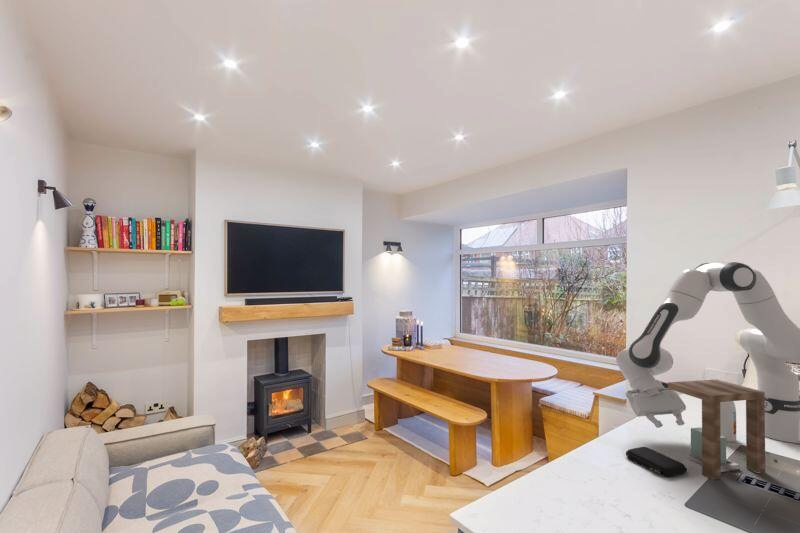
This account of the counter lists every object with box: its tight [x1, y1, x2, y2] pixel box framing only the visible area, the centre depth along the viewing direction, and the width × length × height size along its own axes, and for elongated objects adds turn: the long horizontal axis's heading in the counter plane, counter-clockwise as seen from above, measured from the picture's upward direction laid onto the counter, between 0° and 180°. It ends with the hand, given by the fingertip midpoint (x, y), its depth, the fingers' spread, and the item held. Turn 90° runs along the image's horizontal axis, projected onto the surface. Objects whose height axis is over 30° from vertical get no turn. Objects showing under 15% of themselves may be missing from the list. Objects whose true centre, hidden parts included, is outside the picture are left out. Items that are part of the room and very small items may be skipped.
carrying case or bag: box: [625, 446, 688, 478], centre depth 118 cm, size 11×3×15 cm
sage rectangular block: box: [690, 426, 727, 465], centre depth 121 cm, size 4×8×9 cm, turn 13°
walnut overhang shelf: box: [667, 379, 766, 481], centre depth 119 cm, size 20×14×24 cm
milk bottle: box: [720, 401, 737, 443], centre depth 139 cm, size 8×8×20 cm
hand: (670, 425), depth 133 cm, fingers open, 8 cm apart
